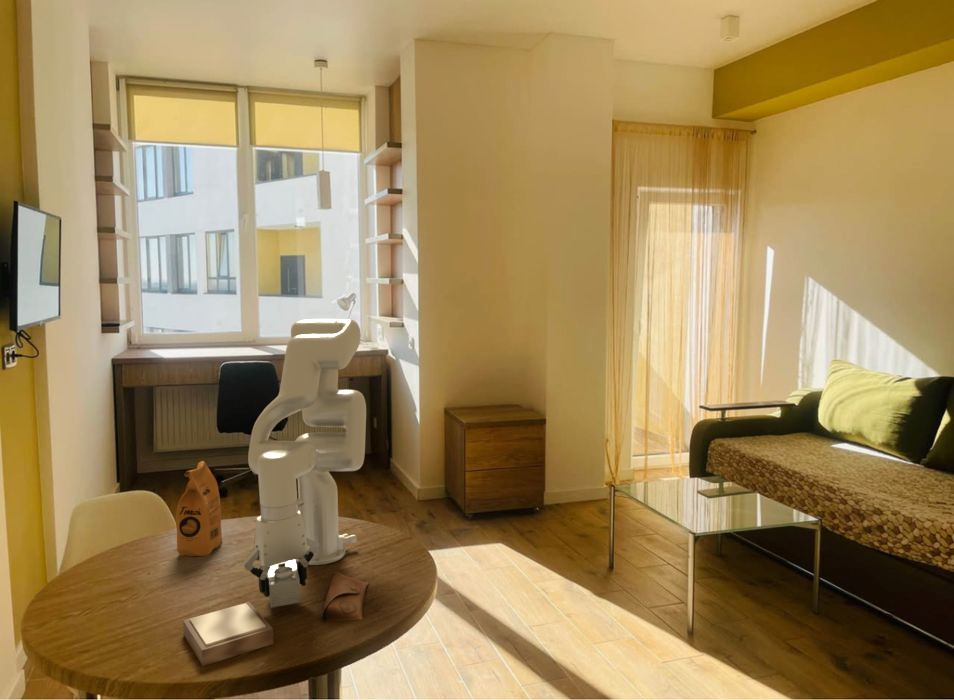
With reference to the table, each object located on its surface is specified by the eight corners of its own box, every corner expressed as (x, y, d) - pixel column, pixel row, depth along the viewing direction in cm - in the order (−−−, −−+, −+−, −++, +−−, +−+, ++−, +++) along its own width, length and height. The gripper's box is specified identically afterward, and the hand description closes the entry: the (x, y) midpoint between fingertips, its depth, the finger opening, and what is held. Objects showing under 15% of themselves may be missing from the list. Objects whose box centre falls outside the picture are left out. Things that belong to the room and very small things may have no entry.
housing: (296, 578, 153) (294, 552, 152) (300, 602, 143) (299, 574, 142) (268, 583, 151) (266, 556, 150) (270, 607, 141) (269, 579, 140)
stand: (249, 615, 143) (249, 599, 142) (273, 643, 131) (272, 626, 131) (183, 634, 135) (182, 618, 135) (202, 666, 124) (201, 648, 123)
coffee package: (170, 557, 174) (165, 472, 172) (191, 539, 186) (187, 460, 184) (209, 557, 173) (205, 472, 171) (228, 539, 186) (224, 460, 184)
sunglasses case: (364, 619, 140) (347, 593, 140) (335, 638, 140) (317, 612, 139) (369, 582, 158) (353, 558, 157) (343, 598, 158) (327, 575, 157)
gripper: (311, 495, 152) (315, 570, 155) (231, 513, 142) (237, 594, 145) (325, 505, 146) (329, 583, 149) (243, 525, 136) (248, 608, 139)
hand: (283, 588), depth 147 cm, fingers closed on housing, 7 cm apart
